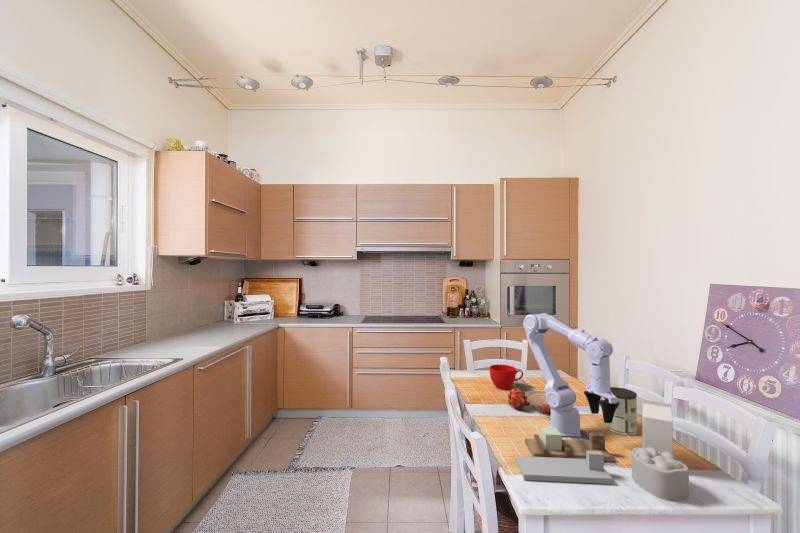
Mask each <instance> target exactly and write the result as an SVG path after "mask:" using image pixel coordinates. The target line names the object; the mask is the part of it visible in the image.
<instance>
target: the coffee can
mask: <svg viewBox="0 0 800 533" xmlns="http://www.w3.org/2000/svg"><path fill="white" fill-rule="evenodd" d="M610 391H611V392H612V393H613V395H614V396H615V397H617V402H619V406H618V407H617V409H616V411H615V413H614V416H613V420H612V423H605V422H604V424H605V425H604V426H605V428H606V429H607V431H610V432H611V433H615V434H619V435H621V436H622V435H623V436H636V435H637V433H638V422H637V421H638V420H637V419H638V415H637V414H638V413H637V411H638V410H637V409H638V408H637V406H638V405H637V396H638V394H637V392H635V391H634V390H631V389H628V388H624V387H617V386H610Z"/></svg>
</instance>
